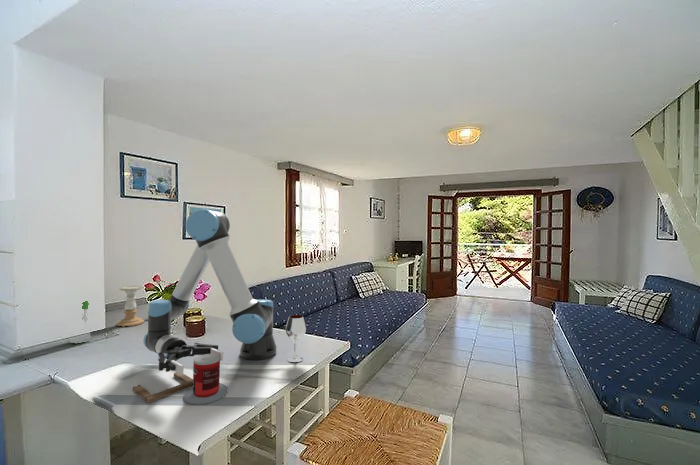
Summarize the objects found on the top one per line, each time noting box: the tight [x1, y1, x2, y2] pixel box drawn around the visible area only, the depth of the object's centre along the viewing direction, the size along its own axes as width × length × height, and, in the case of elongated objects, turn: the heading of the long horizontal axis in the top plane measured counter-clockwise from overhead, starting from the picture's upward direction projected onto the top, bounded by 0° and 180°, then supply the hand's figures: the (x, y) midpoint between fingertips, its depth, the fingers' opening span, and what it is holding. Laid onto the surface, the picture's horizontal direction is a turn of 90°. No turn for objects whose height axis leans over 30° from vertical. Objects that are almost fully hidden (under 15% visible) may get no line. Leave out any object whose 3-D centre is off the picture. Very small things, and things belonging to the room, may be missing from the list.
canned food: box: [192, 354, 221, 397], centre depth 104 cm, size 8×8×11 cm
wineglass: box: [285, 314, 307, 360], centre depth 132 cm, size 8×8×18 cm
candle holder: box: [116, 285, 144, 328], centre depth 175 cm, size 12×12×20 cm
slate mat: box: [183, 382, 229, 406], centre depth 104 cm, size 13×13×1 cm
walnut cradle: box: [132, 372, 193, 404], centre depth 107 cm, size 12×15×1 cm
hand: (203, 363), depth 105 cm, fingers open, 13 cm apart
